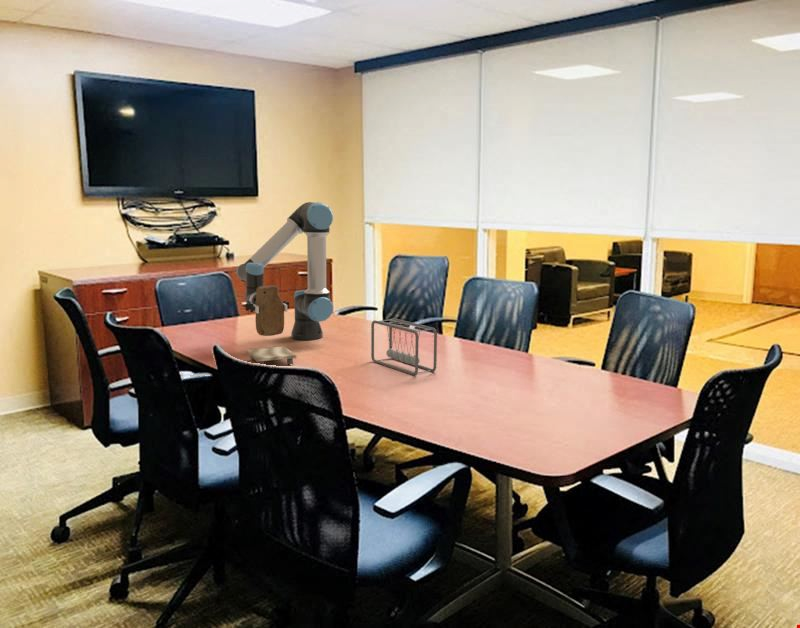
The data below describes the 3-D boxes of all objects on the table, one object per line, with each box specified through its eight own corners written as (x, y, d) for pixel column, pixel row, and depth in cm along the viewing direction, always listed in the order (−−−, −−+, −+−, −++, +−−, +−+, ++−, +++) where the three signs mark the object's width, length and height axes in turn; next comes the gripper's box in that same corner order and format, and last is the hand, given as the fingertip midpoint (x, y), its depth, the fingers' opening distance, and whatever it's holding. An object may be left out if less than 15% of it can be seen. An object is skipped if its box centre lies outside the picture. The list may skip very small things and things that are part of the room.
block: (260, 337, 275) (259, 287, 271) (254, 333, 281) (253, 285, 278) (286, 334, 280) (285, 286, 277) (279, 331, 287) (278, 284, 283)
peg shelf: (285, 356, 294) (285, 346, 293) (296, 365, 279) (295, 355, 278) (247, 359, 287) (247, 349, 287) (256, 368, 272) (256, 358, 271)
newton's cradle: (370, 361, 286) (370, 319, 283) (390, 358, 293) (391, 317, 290) (416, 376, 263) (416, 331, 260) (436, 372, 269) (437, 328, 266)
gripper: (286, 308, 300) (300, 316, 281) (232, 311, 291) (243, 320, 271) (286, 291, 299) (300, 298, 279) (232, 293, 290) (242, 301, 270)
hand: (272, 309), depth 275 cm, fingers closed on block, 11 cm apart
